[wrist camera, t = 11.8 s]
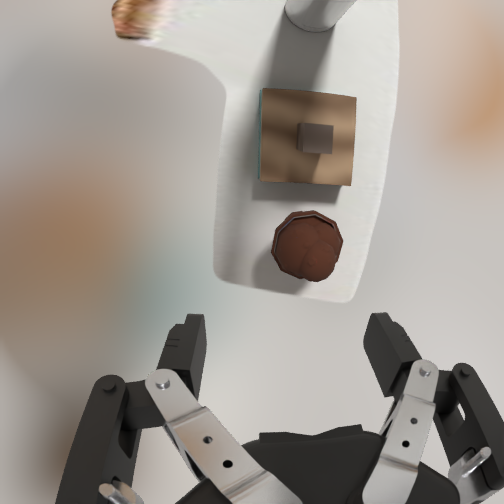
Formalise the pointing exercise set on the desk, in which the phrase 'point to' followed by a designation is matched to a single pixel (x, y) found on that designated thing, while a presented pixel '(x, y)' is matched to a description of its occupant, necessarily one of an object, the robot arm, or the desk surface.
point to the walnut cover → (307, 137)
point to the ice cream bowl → (307, 245)
